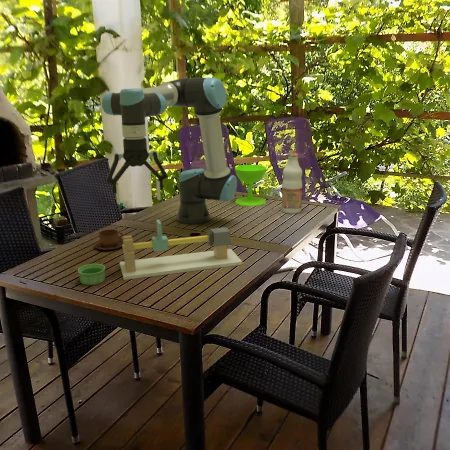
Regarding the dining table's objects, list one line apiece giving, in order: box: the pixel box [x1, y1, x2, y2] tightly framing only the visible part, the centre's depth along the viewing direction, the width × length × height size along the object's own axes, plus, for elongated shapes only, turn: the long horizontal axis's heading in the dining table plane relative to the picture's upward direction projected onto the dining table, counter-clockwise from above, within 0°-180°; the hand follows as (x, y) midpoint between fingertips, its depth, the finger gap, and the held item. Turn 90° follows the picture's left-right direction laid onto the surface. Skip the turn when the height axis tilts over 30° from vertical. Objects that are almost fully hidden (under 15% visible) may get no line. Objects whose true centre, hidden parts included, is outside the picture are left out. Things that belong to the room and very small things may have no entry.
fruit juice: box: [281, 152, 303, 215], centre depth 242 cm, size 9×9×28 cm
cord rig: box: [119, 226, 243, 281], centre depth 181 cm, size 14×42×12 cm, turn 106°
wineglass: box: [234, 164, 267, 207], centre depth 261 cm, size 16×16×18 cm
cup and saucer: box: [93, 229, 124, 251], centre depth 201 cm, size 12×12×6 cm
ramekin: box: [77, 263, 106, 286], centre depth 170 cm, size 9×9×4 cm
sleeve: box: [151, 219, 169, 252], centre depth 177 cm, size 5×5×10 cm
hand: (138, 200), depth 172 cm, fingers open, 13 cm apart
